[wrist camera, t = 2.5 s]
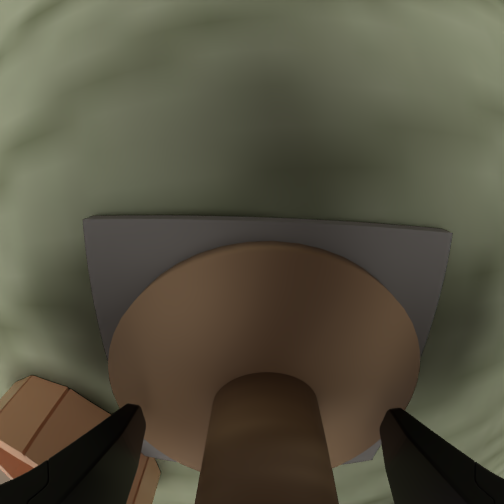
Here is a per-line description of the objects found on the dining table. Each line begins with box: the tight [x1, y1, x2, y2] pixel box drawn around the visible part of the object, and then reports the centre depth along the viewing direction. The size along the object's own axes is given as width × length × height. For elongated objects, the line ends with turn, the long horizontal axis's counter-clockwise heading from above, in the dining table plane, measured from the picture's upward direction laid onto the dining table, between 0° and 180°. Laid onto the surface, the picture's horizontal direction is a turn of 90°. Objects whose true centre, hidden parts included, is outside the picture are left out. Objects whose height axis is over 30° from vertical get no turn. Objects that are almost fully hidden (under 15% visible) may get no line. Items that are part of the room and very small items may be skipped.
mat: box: [83, 215, 453, 465], centre depth 9 cm, size 11×11×1 cm
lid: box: [108, 241, 420, 504], centre depth 6 cm, size 10×10×5 cm
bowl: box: [0, 376, 161, 504], centre depth 9 cm, size 10×10×4 cm
